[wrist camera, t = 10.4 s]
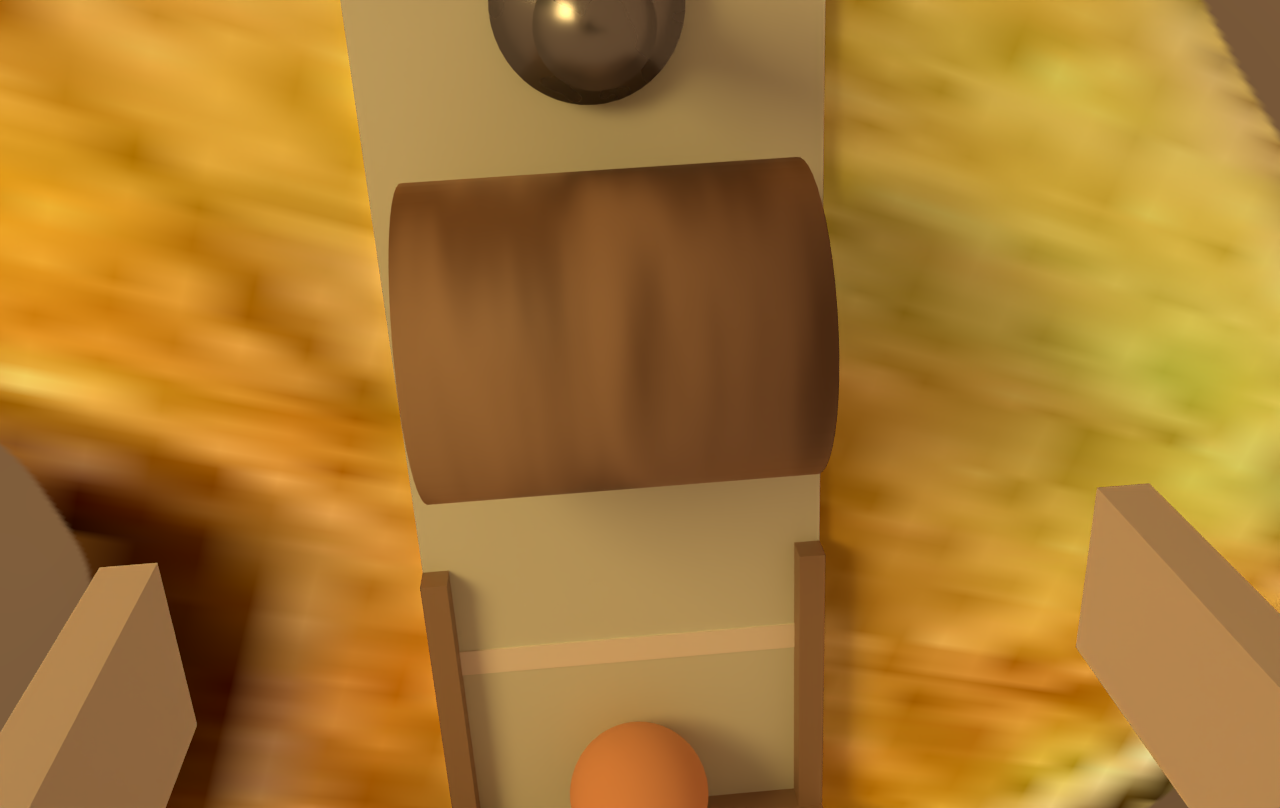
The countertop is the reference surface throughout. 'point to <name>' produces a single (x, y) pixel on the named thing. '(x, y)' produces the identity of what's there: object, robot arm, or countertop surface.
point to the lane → (617, 519)
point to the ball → (639, 770)
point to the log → (613, 329)
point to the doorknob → (587, 44)
